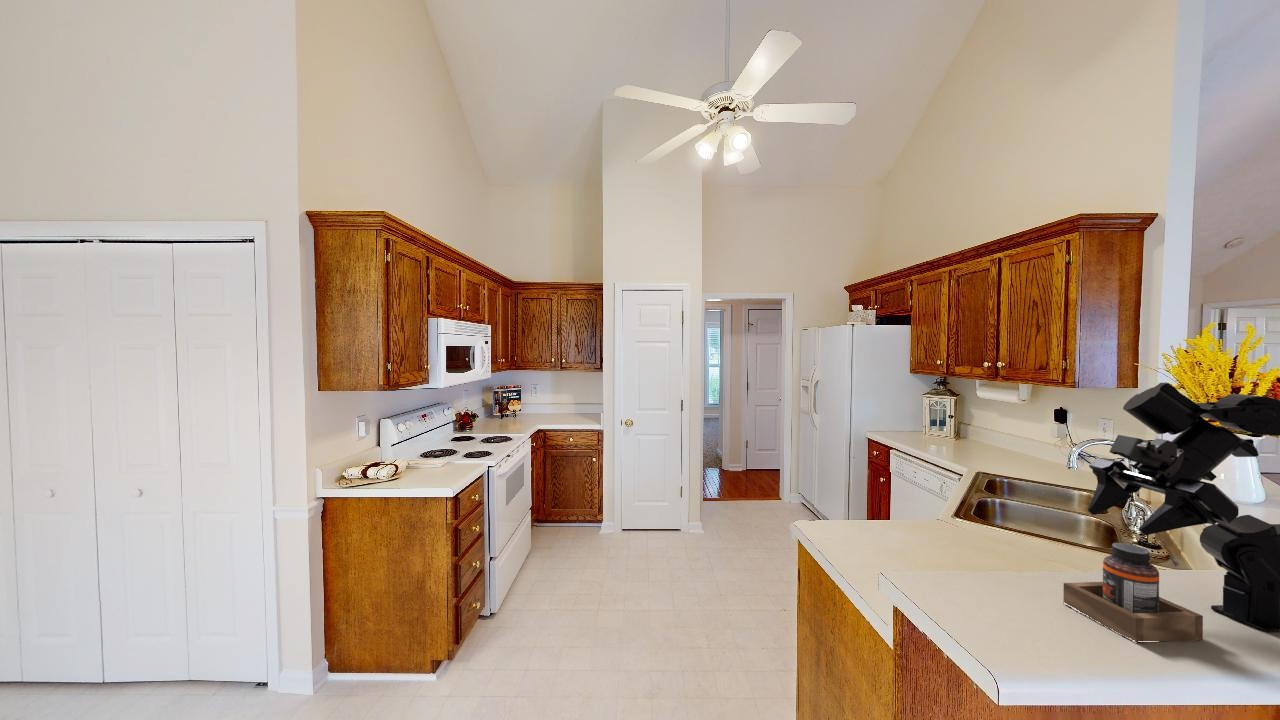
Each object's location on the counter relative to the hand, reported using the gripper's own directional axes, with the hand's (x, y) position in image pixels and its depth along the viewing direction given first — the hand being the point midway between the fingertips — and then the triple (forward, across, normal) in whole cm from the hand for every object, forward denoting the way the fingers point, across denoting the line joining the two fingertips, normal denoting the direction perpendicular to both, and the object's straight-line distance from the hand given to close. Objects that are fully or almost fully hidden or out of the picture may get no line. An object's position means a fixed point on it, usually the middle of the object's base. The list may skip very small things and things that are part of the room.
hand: (1114, 522), depth 76 cm
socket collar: (+11, +5, +8) cm, 14 cm away
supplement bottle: (+11, +5, +9) cm, 15 cm away
